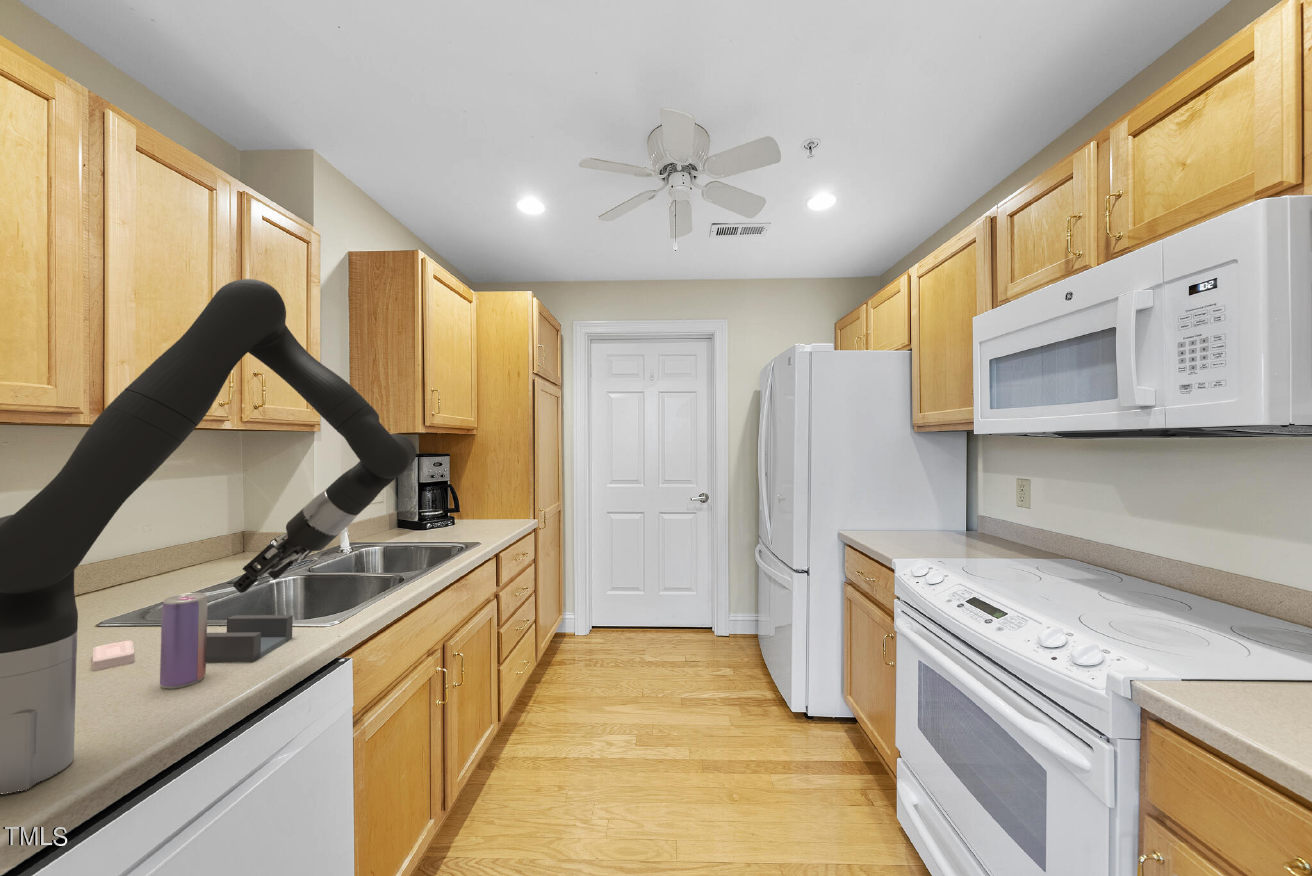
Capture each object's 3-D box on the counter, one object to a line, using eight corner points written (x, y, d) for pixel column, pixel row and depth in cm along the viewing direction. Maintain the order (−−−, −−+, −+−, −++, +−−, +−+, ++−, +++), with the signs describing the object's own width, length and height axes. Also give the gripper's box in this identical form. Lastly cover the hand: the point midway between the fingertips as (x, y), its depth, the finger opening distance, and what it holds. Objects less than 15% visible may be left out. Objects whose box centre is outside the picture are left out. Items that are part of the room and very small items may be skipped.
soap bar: (132, 650, 104) (132, 638, 104) (134, 664, 98) (134, 651, 98) (92, 658, 100) (93, 646, 100) (92, 673, 94) (92, 660, 94)
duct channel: (292, 637, 111) (292, 614, 111) (253, 661, 99) (254, 636, 99) (233, 638, 110) (233, 615, 110) (187, 662, 98) (187, 636, 98)
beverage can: (177, 691, 87) (179, 603, 87) (150, 687, 88) (152, 600, 89) (214, 676, 93) (216, 593, 93) (188, 672, 94) (190, 591, 94)
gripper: (330, 499, 100) (266, 558, 99) (283, 509, 86) (208, 578, 85) (358, 526, 100) (295, 585, 99) (316, 541, 86) (241, 610, 85)
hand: (255, 582), depth 92 cm, fingers open, 8 cm apart
